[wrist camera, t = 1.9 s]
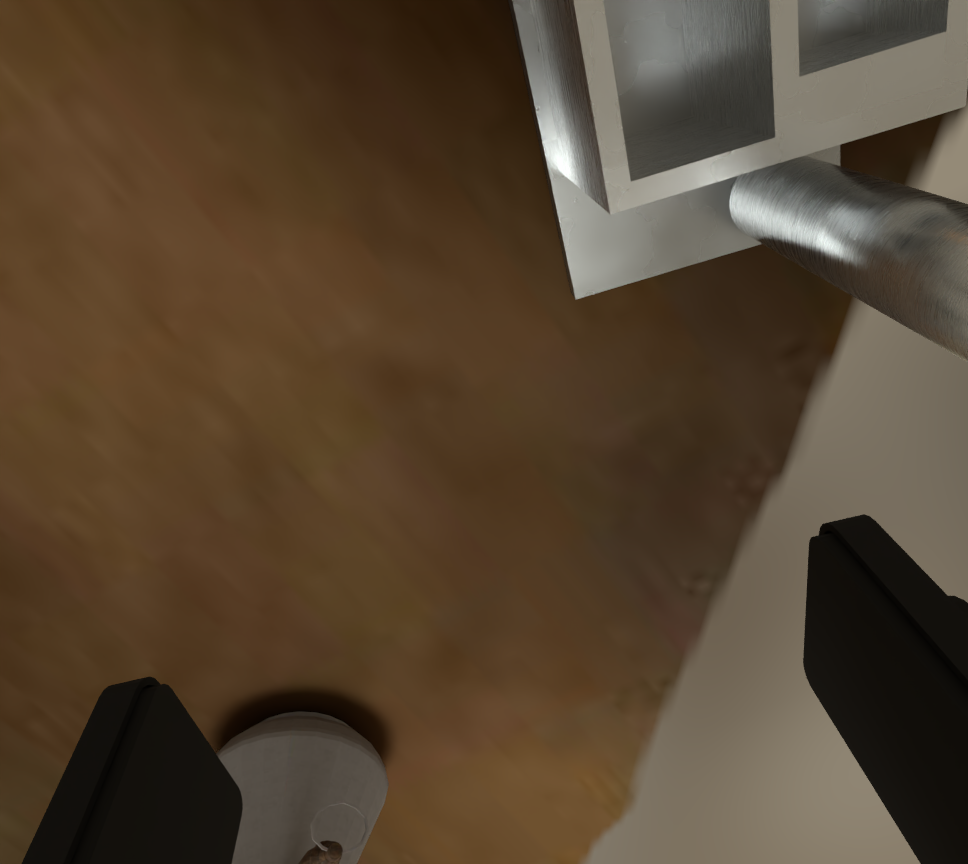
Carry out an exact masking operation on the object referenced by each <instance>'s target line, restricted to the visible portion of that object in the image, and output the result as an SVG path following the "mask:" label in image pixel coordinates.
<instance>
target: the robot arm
mask: <svg viewBox="0 0 968 864" xmlns="http://www.w3.org/2000/svg"><path fill="white" fill-rule="evenodd" d="M803 663H804V670H805V673H806V676H807V679H808V681H809V684H810V686H811V688H812V689H813V691H814V693H815V694H816V696H817V697H818V699H819V700H820V702H821V704H822V705H823V707H824V709H825V710H826V712H827V713H828V715H829V717H830V718H831V720H832V722H833V723H834V725H835V726H836V728H837V730H838V731H839V733H840V734H841V736H842V738H843V739H844V741H845V742H846V744H847V746H848V747H849V749H850V750H851V752H852V754H853V755H854V757H855V759H856V760H857V762H858V763H859V765H860V767H861V768H862V770H863V771H864V773H865V775H866V776H867V778H868V780H869V781H870V783H871V784H872V786H873V787H874V789H875V791H876V792H877V794H878V796H879V797H880V799H881V800H882V802H883V803H884V805H885V807H886V808H887V810H888V812H889V813H890V815H891V817H892V818H893V820H894V821H895V823H896V825H897V826H898V827H899V829H900V831H901V833H902V834H903V836H904V837H905V839H906V841H907V842H908V844H909V845H910V847H911V849H912V850H913V852H914V854H915V855H916V857H917V858H918V860H919V861H920V863H921V864H968V603H967V602H966V601H964V600H962V599H960V598H958V597H956V596H947V595H946V594H945V593H944V592H943V591H942V589H941V588H940V587H939V586H938V585H937V584H936V583H935V582H934V581H933V580H932V579H931V578H930V577H929V576H928V575H927V574H926V573H925V572H924V571H923V570H922V569H921V568H920V567H919V566H918V565H917V564H916V563H915V561H914V560H913V559H912V558H911V557H910V556H909V555H908V554H907V553H906V552H905V551H904V550H903V549H902V548H901V547H900V546H899V545H898V544H897V543H896V542H895V541H894V540H893V539H892V538H891V537H890V536H889V535H888V534H887V533H886V532H885V531H884V529H883V528H881V526H880V525H879V524H878V523H877V522H876V521H875V520H873V519H872V518H871V517H870V516H867V515H860V516H855V517H851V518H846V519H842V520H838V521H833V522H829V523H825V524H822V526H821V527H820V531H819V536H815V537H812V538H811V539H810V542H809V557H808V579H807V598H806V618H805V638H804V658H803ZM242 810H243V802H242V795H241V791H240V789H239V787H238V786H237V784H236V783H235V781H234V780H233V778H232V777H231V775H230V774H229V772H228V771H227V769H226V768H225V766H224V765H223V763H222V762H221V761H220V759H219V758H218V756H217V755H216V753H215V752H214V750H213V749H212V747H211V746H210V744H209V743H208V741H207V740H206V739H205V737H204V736H203V734H202V733H201V731H200V730H199V728H198V727H197V725H196V724H195V722H194V721H193V719H192V718H191V717H190V715H189V714H188V712H187V711H186V709H185V708H184V706H183V705H182V703H181V702H180V700H179V699H178V697H177V696H176V695H175V693H174V692H173V690H172V689H171V688H170V687H169V685H166V684H162V685H160V683H159V682H158V681H157V680H156V679H155V678H152V677H146V678H141V679H137V680H133V681H128V682H124V683H119V684H115V685H111V686H108V687H107V688H106V689H104V691H103V692H102V694H101V695H100V697H99V699H98V701H97V703H96V705H95V708H94V710H93V712H92V714H91V716H90V718H89V720H88V723H87V725H86V727H85V729H84V731H83V733H82V735H81V738H80V740H79V742H78V744H77V746H76V748H75V750H74V753H73V755H72V757H71V759H70V761H69V763H68V765H67V768H66V770H65V772H64V774H63V776H62V778H61V780H60V783H59V785H58V787H57V789H56V791H55V793H54V795H53V798H52V800H51V802H50V804H49V806H48V808H47V810H46V813H45V815H44V817H43V819H42V821H41V823H40V825H39V828H38V830H37V832H36V834H35V836H34V838H33V840H32V843H31V845H30V847H29V849H28V851H27V853H26V855H25V858H24V860H23V862H22V864H232V859H233V855H234V850H235V845H236V841H237V836H238V831H239V826H240V822H241V817H242Z"/></svg>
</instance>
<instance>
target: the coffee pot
mask: <svg viewBox="0 0 968 864" xmlns="http://www.w3.org/2000/svg"><path fill="white" fill-rule="evenodd" d="M216 755H217V756H218V758H219V759H220V761H221V762H222V763H223V765H224V766H225V768H226V769H227V771H228V772H229V774H230V775H231V777H232V778H233V780H234V781H235V783H236V784H237V786H238V787H239V789H240V791H241V795H242V802H243V810H242V817H241V822H240V826H239V831H238V836H237V841H236V845H235V850H234V855H233V859H232V864H357V862H358V860H359V857H360V855H361V853H362V851H363V849H364V846H365V844H366V842H367V840H368V838H369V836H370V833H371V831H372V829H373V827H374V825H375V822H376V820H377V818H378V816H379V814H380V811H381V809H382V807H383V805H384V803H385V798H386V794H387V789H388V785H389V784H388V779H387V774H386V770H385V766H384V764H383V762H382V760H381V758H380V756H379V754H378V753H377V751H376V750H375V748H374V747H373V745H372V744H371V743H370V742H369V741H368V740H366V739H365V738H364V737H363V736H361V735H360V734H359V733H357V732H356V731H355V730H353V729H352V728H351V727H350V726H348V725H347V724H346V723H344V722H343V721H341V720H339V719H336V718H334V717H332V716H329V715H325V714H321V713H316V712H291V713H283V714H279V715H276V716H273V717H270V718H267V719H265V720H264V721H262V722H260V723H258V724H256V725H254V726H253V727H251V728H249V729H247V730H245V731H244V732H242V733H240V734H238V735H237V736H235V737H233V738H232V739H231V740H230V741H229V742H228V743H227V744H225V745H224V746H223V747H222V748H221V749H220V750H219V752H218V753H217V754H216Z"/></svg>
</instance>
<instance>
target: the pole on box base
mask: <svg viewBox="0 0 968 864" xmlns="http://www.w3.org/2000/svg"><path fill="white" fill-rule="evenodd" d="M508 1H509V6H510V11H511V15H512V20H513V25H514V29H515V34H516V39H517V43H518V48H519V53H520V57H521V62H522V67H523V71H524V76H525V81H526V85H527V90H528V95H529V99H530V104H531V109H532V113H533V118H534V123H535V127H536V132H537V137H538V141H539V146H540V150H541V155H542V160H543V164H544V169H545V174H546V178H547V183H548V188H549V192H550V197H551V202H552V206H553V211H554V216H555V220H556V225H557V230H558V234H559V239H560V244H561V248H562V253H563V258H564V262H565V267H566V272H567V276H568V281H569V286H570V290H571V293H572V295H573V296H574V298H575V299H579V298H582V297H586V296H589V295H592V294H596V293H599V292H602V291H606V290H609V289H612V288H616V287H619V286H622V285H626V284H629V283H632V282H636V281H639V280H642V279H646V278H649V277H653V276H656V275H659V274H663V273H666V272H669V271H673V270H676V269H679V268H683V267H686V266H689V265H693V264H696V263H699V262H703V261H706V260H709V259H713V258H716V257H719V256H723V255H726V254H729V253H733V252H736V251H739V250H743V249H746V248H749V247H753V246H756V245H759V244H764V245H765V246H767V247H769V248H771V249H772V250H774V251H776V252H777V253H779V254H781V255H783V256H784V257H786V258H788V259H790V260H791V261H793V262H795V263H796V264H798V265H800V266H802V267H803V268H805V269H807V270H809V271H810V272H812V273H814V274H816V275H817V276H819V277H821V278H822V279H824V280H826V281H828V282H829V283H831V284H833V285H835V286H836V287H838V288H840V289H842V290H843V291H845V292H847V293H848V294H850V295H852V296H854V297H855V298H857V299H859V300H861V301H862V302H864V303H866V304H867V305H869V306H871V307H873V308H874V309H876V310H878V311H880V312H881V313H883V314H885V315H887V316H888V317H890V318H892V319H894V320H895V321H897V322H899V323H900V324H902V325H904V326H906V327H907V328H909V329H911V330H913V331H914V332H916V333H918V334H919V335H921V336H923V337H925V338H927V339H928V340H930V341H932V342H933V343H935V344H937V345H939V346H940V347H942V348H944V349H945V350H947V351H949V352H951V353H953V354H954V355H956V356H958V357H959V358H961V359H963V360H964V361H966V362H968V204H965V203H962V202H959V201H955V200H952V199H949V198H945V197H942V196H939V195H935V194H932V193H929V192H925V191H922V190H919V189H915V188H912V187H909V186H905V185H902V184H898V183H895V182H892V181H888V180H885V179H882V178H878V177H875V176H872V175H868V174H865V173H862V172H858V171H855V170H852V169H848V168H845V167H842V166H840V144H844V143H847V142H850V141H854V140H857V139H860V138H863V137H867V136H870V135H873V134H877V133H880V132H883V131H886V130H890V129H893V128H896V127H900V126H903V125H906V124H909V123H913V122H916V121H919V120H923V119H926V118H929V117H932V116H936V115H939V114H942V113H946V112H949V111H952V110H955V109H959V108H962V107H965V106H966V97H967V86H968V0H508Z"/></svg>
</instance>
